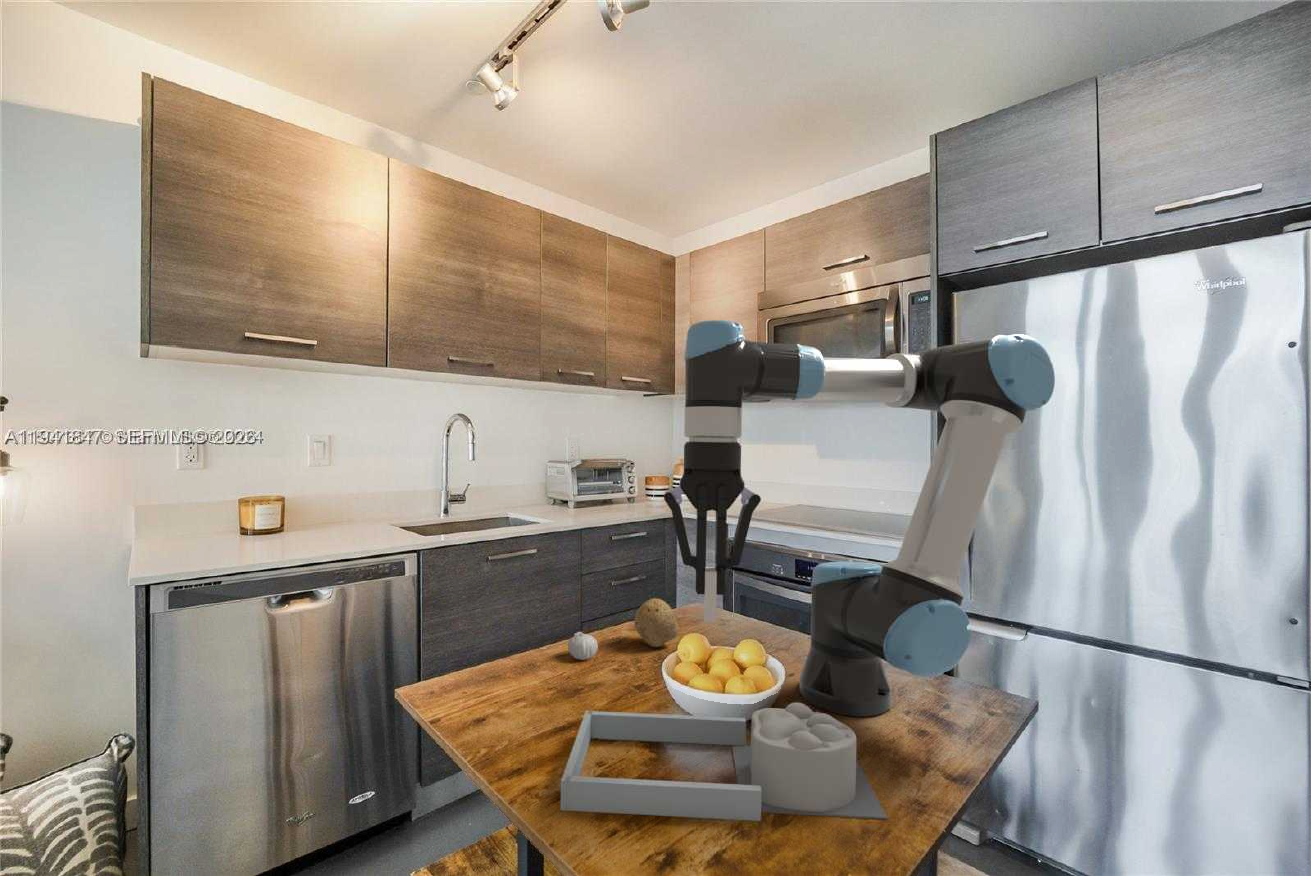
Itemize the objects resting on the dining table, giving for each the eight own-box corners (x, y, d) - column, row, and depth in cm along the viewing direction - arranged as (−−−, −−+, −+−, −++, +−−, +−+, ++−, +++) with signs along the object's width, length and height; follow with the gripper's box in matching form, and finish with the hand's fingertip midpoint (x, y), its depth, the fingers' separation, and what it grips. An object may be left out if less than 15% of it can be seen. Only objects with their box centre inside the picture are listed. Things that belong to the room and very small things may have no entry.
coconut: (627, 641, 122) (628, 594, 122) (664, 636, 126) (665, 591, 126) (643, 656, 114) (644, 606, 114) (682, 650, 117) (683, 602, 117)
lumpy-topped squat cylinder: (749, 756, 79) (751, 694, 79) (846, 766, 77) (848, 702, 77) (751, 804, 68) (753, 733, 68) (864, 817, 66) (865, 743, 66)
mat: (851, 752, 80) (851, 751, 80) (887, 819, 66) (887, 817, 66) (731, 746, 81) (731, 745, 81) (742, 811, 67) (742, 809, 67)
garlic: (565, 663, 110) (565, 636, 110) (569, 652, 115) (569, 627, 115) (596, 663, 110) (596, 637, 110) (598, 653, 115) (599, 627, 115)
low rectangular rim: (744, 741, 83) (745, 718, 83) (760, 820, 66) (761, 790, 66) (585, 734, 84) (585, 710, 84) (560, 810, 67) (561, 780, 67)
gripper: (758, 440, 78) (755, 611, 78) (663, 439, 79) (661, 608, 79) (766, 441, 71) (763, 629, 71) (662, 439, 71) (659, 626, 71)
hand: (709, 618), depth 75 cm, fingers closed
